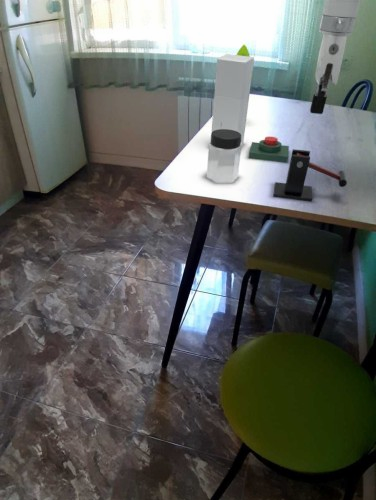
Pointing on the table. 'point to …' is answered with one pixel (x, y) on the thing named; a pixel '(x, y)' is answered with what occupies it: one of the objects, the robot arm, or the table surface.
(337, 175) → the red lever handle
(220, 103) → the tall white carton
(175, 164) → the table surface
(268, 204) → the table surface
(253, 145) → the button box
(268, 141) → the button
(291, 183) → the lever stand
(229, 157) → the jar
